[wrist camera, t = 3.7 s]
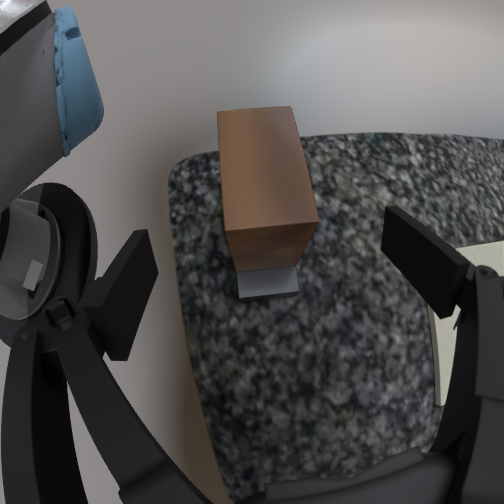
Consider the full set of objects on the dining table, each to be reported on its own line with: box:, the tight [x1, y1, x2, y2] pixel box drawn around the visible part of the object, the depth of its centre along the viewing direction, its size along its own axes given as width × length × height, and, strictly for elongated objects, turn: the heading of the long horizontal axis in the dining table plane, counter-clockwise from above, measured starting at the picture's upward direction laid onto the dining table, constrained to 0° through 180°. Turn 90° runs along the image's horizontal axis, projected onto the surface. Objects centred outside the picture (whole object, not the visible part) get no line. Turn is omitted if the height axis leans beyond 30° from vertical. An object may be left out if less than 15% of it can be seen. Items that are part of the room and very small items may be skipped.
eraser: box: [217, 106, 319, 302], centre depth 20 cm, size 5×12×11 cm, turn 6°
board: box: [427, 241, 504, 406], centre depth 22 cm, size 22×15×1 cm
